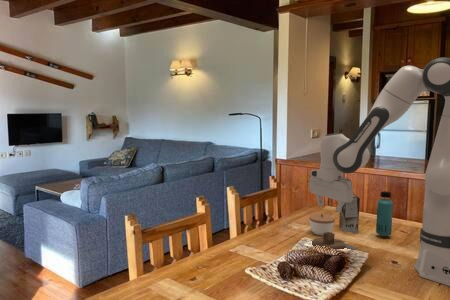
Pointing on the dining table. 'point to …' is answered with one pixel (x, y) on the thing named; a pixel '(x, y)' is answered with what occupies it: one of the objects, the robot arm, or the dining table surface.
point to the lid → (329, 241)
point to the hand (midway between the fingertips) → (329, 208)
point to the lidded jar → (321, 223)
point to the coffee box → (350, 216)
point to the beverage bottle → (384, 215)
